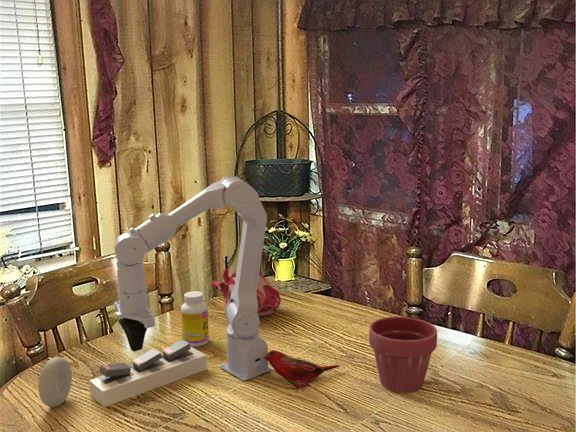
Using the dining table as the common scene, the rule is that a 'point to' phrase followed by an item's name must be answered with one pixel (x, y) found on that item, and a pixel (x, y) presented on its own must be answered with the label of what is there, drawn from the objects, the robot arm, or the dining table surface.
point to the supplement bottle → (194, 319)
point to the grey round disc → (55, 381)
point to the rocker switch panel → (147, 377)
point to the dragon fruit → (265, 293)
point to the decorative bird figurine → (295, 368)
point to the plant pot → (402, 351)
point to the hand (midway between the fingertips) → (136, 349)
